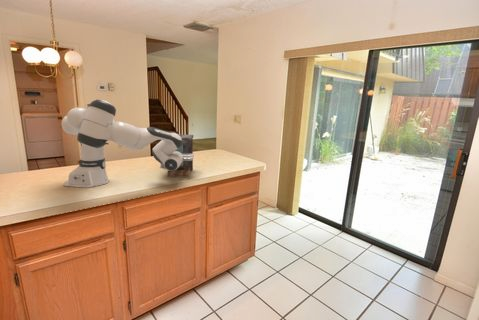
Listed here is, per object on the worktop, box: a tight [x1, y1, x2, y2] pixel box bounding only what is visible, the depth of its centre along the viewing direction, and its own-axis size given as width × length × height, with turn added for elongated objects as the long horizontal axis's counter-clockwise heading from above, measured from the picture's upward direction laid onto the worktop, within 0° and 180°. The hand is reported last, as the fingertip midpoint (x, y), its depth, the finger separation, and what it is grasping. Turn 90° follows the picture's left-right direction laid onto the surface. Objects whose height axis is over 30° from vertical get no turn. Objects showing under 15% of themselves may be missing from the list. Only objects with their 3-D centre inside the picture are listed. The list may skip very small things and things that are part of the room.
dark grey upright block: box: [167, 133, 194, 177], centre depth 168 cm, size 17×16×26 cm
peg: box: [176, 144, 183, 166], centre depth 167 cm, size 4×4×14 cm
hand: (179, 154), depth 168 cm, fingers closed on peg, 4 cm apart
